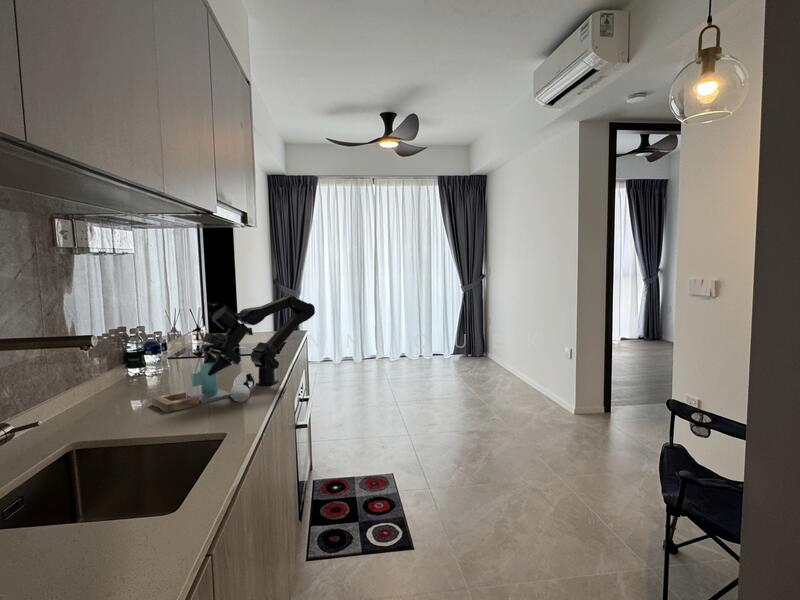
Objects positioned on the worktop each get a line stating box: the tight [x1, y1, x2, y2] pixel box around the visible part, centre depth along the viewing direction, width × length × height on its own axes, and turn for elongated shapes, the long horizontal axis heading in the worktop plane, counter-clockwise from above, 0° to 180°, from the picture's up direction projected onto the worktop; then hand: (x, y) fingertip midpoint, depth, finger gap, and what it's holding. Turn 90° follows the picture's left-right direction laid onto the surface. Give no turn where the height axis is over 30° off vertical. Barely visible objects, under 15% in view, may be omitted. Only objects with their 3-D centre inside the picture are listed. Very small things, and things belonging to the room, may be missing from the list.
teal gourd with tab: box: [191, 362, 219, 395], centre depth 160 cm, size 8×5×10 cm, turn 139°
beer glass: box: [230, 371, 255, 403], centre depth 162 cm, size 7×7×15 cm
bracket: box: [151, 390, 200, 413], centre depth 152 cm, size 10×12×2 cm
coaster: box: [186, 388, 232, 405], centre depth 161 cm, size 11×11×1 cm
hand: (204, 373), depth 160 cm, fingers closed on teal gourd with tab, 5 cm apart
